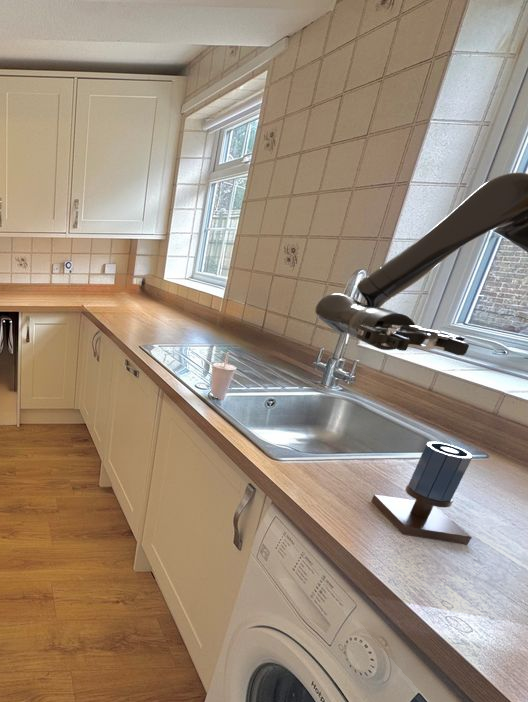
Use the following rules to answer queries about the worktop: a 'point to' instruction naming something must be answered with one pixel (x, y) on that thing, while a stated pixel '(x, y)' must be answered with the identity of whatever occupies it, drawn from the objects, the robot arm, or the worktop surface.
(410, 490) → the stand
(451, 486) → the blue hollow faceted cylinder
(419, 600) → the worktop surface
